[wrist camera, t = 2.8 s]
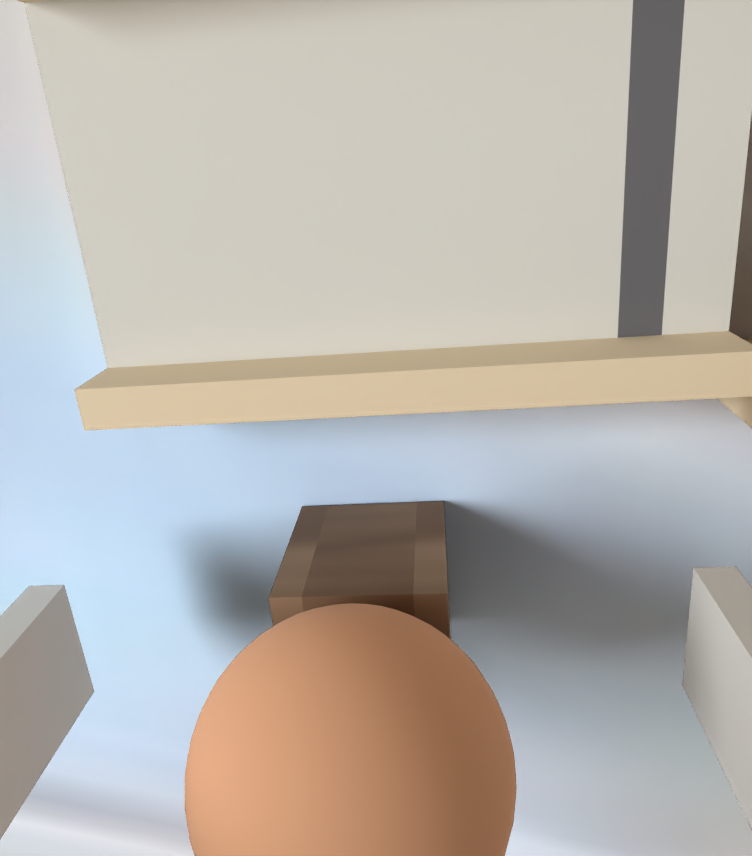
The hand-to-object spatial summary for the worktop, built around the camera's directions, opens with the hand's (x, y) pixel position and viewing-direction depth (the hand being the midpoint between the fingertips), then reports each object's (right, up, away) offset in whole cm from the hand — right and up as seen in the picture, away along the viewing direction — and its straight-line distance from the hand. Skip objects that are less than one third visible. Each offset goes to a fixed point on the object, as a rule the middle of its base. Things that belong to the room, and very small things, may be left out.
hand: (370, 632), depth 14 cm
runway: (0, +9, -1) cm, 9 cm away
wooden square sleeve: (0, +1, +2) cm, 2 cm away
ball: (0, -1, -3) cm, 3 cm away
